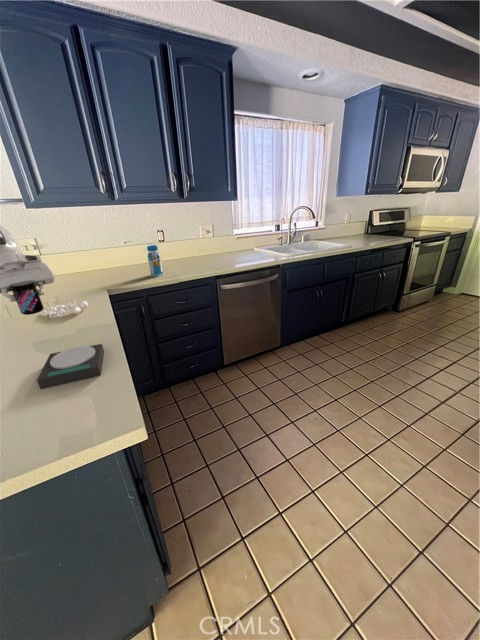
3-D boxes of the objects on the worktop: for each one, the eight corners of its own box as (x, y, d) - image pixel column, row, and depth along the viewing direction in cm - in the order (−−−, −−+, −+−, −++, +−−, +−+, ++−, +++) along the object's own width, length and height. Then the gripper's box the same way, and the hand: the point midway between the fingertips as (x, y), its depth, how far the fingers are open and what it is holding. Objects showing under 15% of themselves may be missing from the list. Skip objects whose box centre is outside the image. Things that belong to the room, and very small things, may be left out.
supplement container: (16, 315, 91) (4, 286, 87) (32, 307, 97) (22, 280, 93) (33, 315, 90) (21, 286, 86) (49, 308, 96) (39, 280, 92)
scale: (40, 389, 72) (35, 378, 70) (53, 361, 85) (49, 352, 83) (100, 375, 77) (97, 365, 75) (104, 351, 90) (101, 342, 88)
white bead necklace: (33, 322, 118) (29, 314, 116) (55, 307, 131) (51, 300, 129) (74, 320, 116) (70, 312, 114) (92, 306, 129) (89, 298, 127)
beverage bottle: (148, 276, 182) (142, 246, 174) (155, 273, 189) (150, 244, 181) (159, 276, 179) (153, 246, 171) (165, 273, 187) (161, 244, 178)
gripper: (-31, 265, 84) (-14, 301, 82) (44, 255, 97) (60, 285, 95) (-26, 277, 89) (-10, 311, 86) (45, 265, 102) (61, 294, 100)
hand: (28, 297), depth 91 cm, fingers closed on supplement container, 6 cm apart
